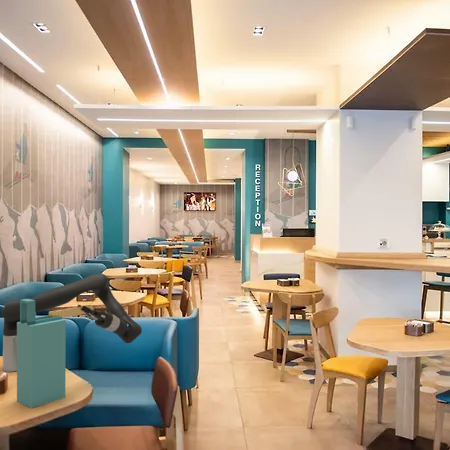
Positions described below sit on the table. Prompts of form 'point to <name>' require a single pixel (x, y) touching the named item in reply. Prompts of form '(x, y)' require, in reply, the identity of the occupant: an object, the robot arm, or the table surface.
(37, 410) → the table surface
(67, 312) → the wooden bar
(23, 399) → the teal brick phone
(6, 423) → the table surface
